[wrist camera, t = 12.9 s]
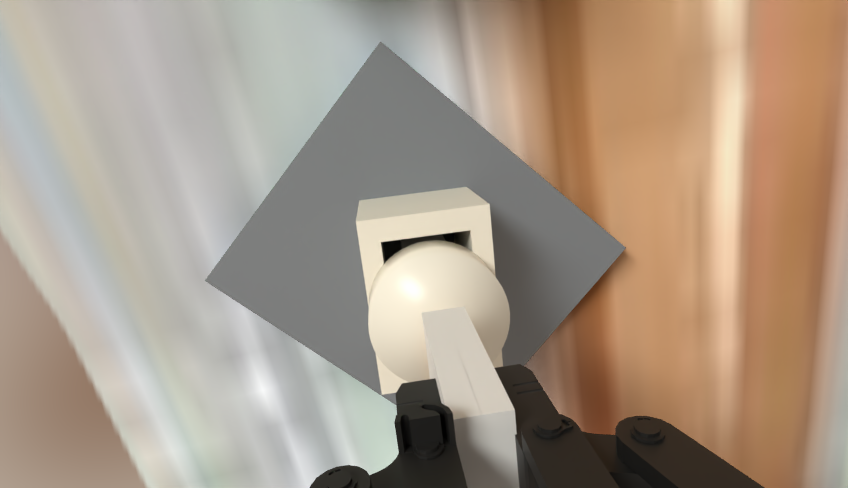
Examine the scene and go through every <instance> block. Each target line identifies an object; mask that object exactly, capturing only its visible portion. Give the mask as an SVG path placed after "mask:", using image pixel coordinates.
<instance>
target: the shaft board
mask: <svg viewBox="0 0 848 488" xmlns="http://www.w3.org/2000/svg"><path fill="white" fill-rule="evenodd" d="M461 187H467V188H469V189H470V190H471V191H473V192H474V193H475V194H477V195H478V196H479V197H481V198H482V199H483V200H485V201H486V202H487V203H489V204H490V215H491V227H492V239H493V251H494V264H495V276H496V279H497V280H498V281H499V283H500V284H501V286H502V288H503V290H504V292H505V294H506V297H507V300H508V303H509V309H510V325H509V331H508V335H507V339H506V341H505V343H504V346H503V348H502V360H503V366H509V365H516V364H521V365H522V366H524V365H525V364H526V363H527V362H528V361H529V359H530V358H531V357H532V356H533V355H534V354H535V352H536V351H537V350H538V349H539V348H540V347H541V346H542V344H543V343H544V342H545V341H546V340H547V339H548V337H549V336H550V335H551V334H552V333H553V332H554V330H555V329H556V328H557V327H558V326H559V325H560V324H561V322H562V321H563V320H564V319H565V318H566V317H567V315H568V314H569V313H570V312H571V311H572V310H573V309H574V307H575V306H576V305H577V304H578V303H579V302H580V300H581V299H582V298H583V297H584V296H585V295H586V294H587V292H588V291H589V290H590V289H591V288H592V287H593V285H594V284H595V283H596V282H597V281H598V280H599V278H600V277H601V276H602V275H603V274H604V273H605V272H606V270H607V269H608V268H609V267H610V266H611V265H612V263H613V262H614V261H615V260H616V259H617V258H618V257H619V255H620V254H621V253H622V252H623V251H624V250H625V247H624V246H623V245H622V244H621V243H619V242H618V241H617V240H616V239H615V238H614V237H612V236H611V235H610V234H609V233H608V232H606V231H605V230H604V229H603V228H602V227H600V226H599V225H598V224H597V223H596V222H595V221H593V220H592V219H591V218H590V217H589V216H587V215H586V214H585V213H584V212H583V211H581V210H580V209H579V208H578V207H577V206H575V205H574V204H573V203H572V202H571V201H570V200H568V199H567V198H566V197H565V196H564V195H562V194H561V193H560V192H559V191H558V190H556V189H555V188H554V187H553V186H552V185H551V184H549V183H548V182H547V181H546V180H545V179H543V178H542V177H541V176H540V175H539V174H537V173H536V172H535V171H534V170H533V169H532V168H530V167H529V166H528V165H527V164H526V163H524V162H523V161H522V160H521V159H520V158H518V157H517V156H516V155H515V154H514V153H512V152H511V151H510V150H509V149H508V148H507V147H505V146H504V145H503V144H502V143H501V142H499V141H498V140H497V139H496V138H495V137H493V136H492V135H491V134H490V133H489V132H488V131H486V130H485V129H484V128H483V127H482V126H480V125H479V124H478V123H477V122H476V121H474V120H473V119H472V118H471V117H470V116H469V115H467V114H466V113H465V112H464V111H463V110H461V109H460V108H459V107H458V106H457V105H455V104H454V103H453V102H452V101H451V100H449V99H448V98H447V97H446V96H445V95H444V94H442V93H441V92H440V91H439V90H438V89H436V88H435V87H434V86H433V85H432V84H430V83H429V82H428V81H427V80H426V79H425V78H423V77H422V76H421V75H420V74H419V73H417V72H416V71H415V70H414V69H413V68H411V67H410V66H409V65H408V64H407V63H406V62H404V61H403V60H402V59H401V58H400V57H398V56H397V55H396V54H395V53H394V52H392V51H391V50H390V49H389V48H388V47H386V46H385V45H384V44H383V43H382V42H380V43H379V44H378V46H377V47H376V48H375V50H374V51H373V52H372V54H371V55H370V57H369V58H368V59H367V61H366V62H365V63H364V65H363V66H362V67H361V69H360V70H359V72H358V73H357V74H356V76H355V77H354V78H353V80H352V81H351V82H350V84H349V85H348V87H347V88H346V89H345V91H344V92H343V93H342V95H341V96H340V97H339V99H338V100H337V102H336V103H335V104H334V106H333V107H332V108H331V110H330V111H329V112H328V114H327V115H326V117H325V118H324V119H323V121H322V122H321V123H320V125H319V126H318V127H317V129H316V130H315V132H314V133H313V134H312V136H311V137H310V138H309V140H308V141H307V142H306V144H305V145H304V146H303V148H302V149H301V151H300V152H299V153H298V155H297V156H296V157H295V159H294V160H293V161H292V163H291V164H290V166H289V167H288V168H287V170H286V171H285V172H284V174H283V175H282V176H281V178H280V179H279V181H278V182H277V183H276V185H275V186H274V187H273V189H272V190H271V191H270V193H269V194H268V196H267V197H266V198H265V200H264V201H263V202H262V204H261V205H260V206H259V208H258V209H257V211H256V212H255V213H254V215H253V216H252V217H251V219H250V220H249V221H248V223H247V224H246V225H245V227H244V228H243V230H242V231H241V232H240V234H239V235H238V236H237V238H236V239H235V240H234V242H233V243H232V245H231V246H230V247H229V249H228V250H227V251H226V253H225V254H224V255H223V257H222V258H221V260H220V261H219V262H218V264H217V265H216V266H215V268H214V269H213V270H212V272H211V273H210V275H209V276H208V277H207V279H206V280H205V281H206V282H208V283H209V284H211V285H212V286H214V287H215V288H217V289H218V290H220V291H222V292H223V293H225V294H226V295H228V296H229V297H231V298H232V299H234V300H235V301H237V302H238V303H240V304H242V305H243V306H245V307H246V308H248V309H249V310H251V311H252V312H254V313H255V314H257V315H258V316H260V317H262V318H263V319H265V320H266V321H268V322H269V323H271V324H272V325H274V326H275V327H277V328H278V329H280V330H282V331H283V332H285V333H286V334H288V335H289V336H291V337H292V338H294V339H295V340H297V341H298V342H300V343H302V344H303V345H305V346H306V347H308V348H309V349H311V350H312V351H314V352H315V353H317V354H318V355H320V356H322V357H323V358H325V359H326V360H328V361H329V362H331V363H332V364H334V365H335V366H337V367H338V368H340V369H342V370H343V371H345V372H346V373H348V374H349V375H351V376H352V377H354V378H355V379H357V380H358V381H360V382H362V383H363V384H365V385H366V386H368V387H369V388H371V389H372V390H374V391H375V392H377V393H378V394H380V395H382V393H381V386H380V379H379V373H378V366H377V359H376V353H375V351H374V348H373V346H372V343H371V340H370V336H369V328H368V313H369V306H368V300H367V293H366V286H365V280H364V273H363V267H362V260H361V253H360V247H359V240H358V233H357V227H356V217H357V211H358V205H359V200H367V199H375V198H383V197H390V196H398V195H406V194H414V193H422V192H429V191H437V190H445V189H453V188H461ZM430 240H441V241H448V242H453V243H455V238H454V232H453V233H446V234H438V235H431V236H423V237H416V238H408V239H401V240H393V241H386V242H383V247H384V254H385V262H386V261H387V260H388V259H389V258H390V257H391V256H393V255H394V254H395V253H396V252H398V251H400V250H401V249H403V248H405V247H407V246H409V245H412V244H415V243H418V242H423V241H430ZM382 396H383V397H385V398H386V399H388V400H389V401H391V402H392V403H394V404H395V405H396V393H390V394H384V395H382Z"/></svg>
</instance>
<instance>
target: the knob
mask: <svg viewBox="0 0 848 488" xmlns="http://www.w3.org/2000/svg"><path fill="white" fill-rule="evenodd" d="M356 227H357V233H358V240H359V247H360V253H361V260H362V267H363V273H364V280H365V286H366V293H367V300H368V306H369V313H368V328H369V336H370V340H371V343H372V346H373V348H374V351H375V353H376V359H377V366H378V373H379V379H380V386H381V393H382V395H384V394H390V393H396V392H397V391H398V389H399V387H400V386H401V384H402V383H408V382H414V381H421V380H427V379H430V376H429V368H428V360H427V352H426V344H425V336H424V328H423V320H422V312H429V311H436V310H443V309H450V308H456V307H463V306H464V307H465V309H466V311H467V313H468V315H469V317H470V319H471V321H472V323H473V325H474V327H475V329H476V332H477V334H478V336H479V338H480V340H481V342H482V344H483V346H484V348H485V350H486V352H487V354H488V356H489V358H490V360H491V362H492V364H493V366H494V368H497V367H503V360H502V348H503V346H504V343H505V341H506V339H507V335H508V331H509V325H510V309H509V303H508V300H507V297H506V294H505V292H504V290H503V288H502V286H501V284H500V283H499V281H498V280H497V279H496V276H495V264H494V251H493V239H492V227H491V215H490V204H489V203H487V202H486V201H485V200H483V199H482V198H481V197H479V196H478V195H477V194H475V193H474V192H473V191H471V190H470V189H469V188H467V187H461V188H453V189H445V190H437V191H429V192H422V193H414V194H406V195H398V196H390V197H383V198H375V199H367V200H359V205H358V211H357V217H356ZM453 232H454V238H455V243H453V242H448V241H441V240H430V241H423V242H418V243H415V244H412V245H409V246H407V247H405V248H403V249H401V250H400V251H398V252H396V253H395V254H394V255H393V256H391V257H390V258H389V259H388V260H387V261H386V262H385V254H384V247H383V242H386V241H393V240H401V239H408V238H416V237H423V236H431V235H438V234H446V233H453Z"/></svg>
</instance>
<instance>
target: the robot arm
mask: <svg viewBox="0 0 848 488" xmlns="http://www.w3.org/2000/svg"><path fill="white" fill-rule="evenodd" d="M422 320H423V328H424V336H425V344H426V352H427V360H428V368H429V376H430V379H427V380H421V381H414V382H408V383H402V384H401V386H400V387H399V389H398V391H397V392H396V405H397V415H396V419H395V429H396V435H397V442H398V449H399V454H398V456H397V458H396V459H395V460H394V461H393V462H392V463H391V464H390V465H389V466H388V467H386V468H385V469H383V470H381V471H379V472H377V473H374V474H372V475H369V474H368V473H367V471H366V470H364V469H362V468H360V467H357V466H350V465H347V466H339V467H335V468H333V469H330V470H328V471H326V472H324V473H323V474H321V475H320V476H319V477H317V478H316V479H315V481H314V482H313V483H312V485H311V486H310V488H764V487H763V486H761V485H760V484H758V483H757V482H755V481H754V480H752V479H751V478H749V477H748V476H746V475H745V474H743V473H742V472H740V471H739V470H737V469H736V468H734V467H733V466H732V465H730V464H729V463H727V462H726V461H724V460H723V459H721V458H720V457H718V456H717V455H715V454H714V453H712V452H711V451H709V450H708V449H706V448H705V447H703V446H702V445H700V444H699V443H698V442H696V441H695V440H693V439H692V438H690V437H689V436H687V435H686V434H684V433H683V432H681V431H680V430H678V429H677V428H675V427H674V426H672V425H671V424H669V423H667V422H665V421H663V420H661V419H657V418H653V417H649V416H634V417H629V418H626V419H624V420H622V421H620V422H619V423H618V425H617V426H616V428H615V429H616V435H603V434H592V433H586V432H582V431H581V429H580V428H579V426H578V425H577V424H576V423H575V422H574V421H573V420H572V419H570V418H568V417H566V416H564V415H561V414H559V413H558V412H557V410H556V409H555V407H554V405H553V404H552V402H551V401H550V399H549V398H548V396H547V394H546V393H545V391H544V390H543V388H542V386H541V385H540V383H538V380H537V379H536V377H535V375H534V374H533V372H532V371H531V370H529V369H527V368H526V367H524V366H522V365H521V364H516V365H509V366H503V367H497V368H494V366H493V364H492V362H491V360H490V358H489V356H488V354H487V352H486V350H485V348H484V346H483V344H482V342H481V340H480V338H479V336H478V334H477V332H476V329H475V327H474V325H473V323H472V321H471V319H470V317H469V315H468V313H467V311H466V309H465V307H464V306H463V307H456V308H450V309H443V310H436V311H429V312H422Z"/></svg>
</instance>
